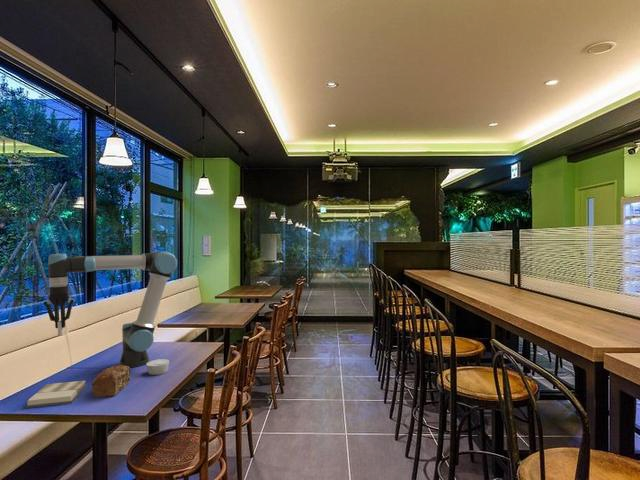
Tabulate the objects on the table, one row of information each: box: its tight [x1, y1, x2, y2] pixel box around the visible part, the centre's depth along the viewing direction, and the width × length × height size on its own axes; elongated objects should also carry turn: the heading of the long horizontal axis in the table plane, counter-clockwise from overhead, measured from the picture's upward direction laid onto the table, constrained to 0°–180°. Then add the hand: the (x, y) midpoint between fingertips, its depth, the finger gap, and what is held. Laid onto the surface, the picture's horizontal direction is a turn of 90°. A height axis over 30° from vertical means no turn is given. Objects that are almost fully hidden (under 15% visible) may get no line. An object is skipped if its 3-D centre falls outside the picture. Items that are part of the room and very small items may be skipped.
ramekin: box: [145, 358, 170, 376], centre depth 208 cm, size 11×11×5 cm
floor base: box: [25, 383, 88, 409], centre depth 177 cm, size 17×20×3 cm
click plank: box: [36, 380, 87, 393], centre depth 181 cm, size 16×11×2 cm
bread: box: [91, 364, 131, 398], centre depth 185 cm, size 19×11×10 cm, turn 6°
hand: (60, 334), depth 192 cm, fingers closed
